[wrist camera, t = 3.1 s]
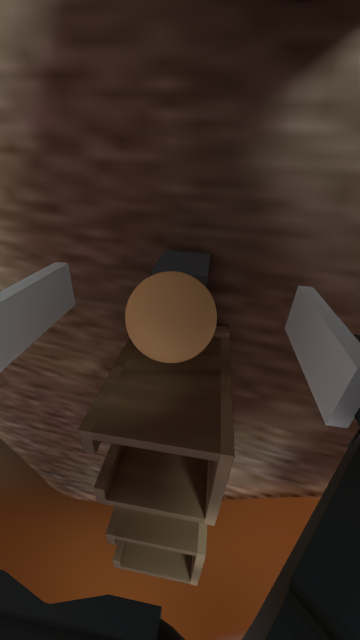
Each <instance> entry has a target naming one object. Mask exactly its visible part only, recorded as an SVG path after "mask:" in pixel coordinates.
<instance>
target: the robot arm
mask: <svg viewBox="0 0 360 640" xmlns="http://www.w3.org/2000/svg"><path fill="white" fill-rule="evenodd" d="M75 305H76V303H75V298H74V293H73V287H72V282H71V277H70V271H69V266H68V263H62V262H55V263H53V264H51V265H49V266H47V267H45V268H43V269H41V270H39V271H37V272H36V273H34V274H32V275H30V276H28V277H26V278H24V279H22V280H20V281H18V282H17V283H15V284H13V285H11V286H9V287H7V288H5V289H3V290H1V291H0V372H1V371H2V370H4V369H5V368H6V367H7V366H8V365H9V364H10V363H11V362H12V361H14V360H15V359H16V358H17V357H18V356H19V355H20V354H21V353H23V352H24V351H25V350H26V349H27V348H28V347H29V346H30V345H31V344H33V343H34V342H35V341H36V340H37V339H38V338H39V337H40V336H41V335H43V334H44V333H45V332H46V331H47V330H48V329H49V328H50V327H51V326H53V325H54V324H55V323H56V322H57V321H58V320H59V319H60V318H62V317H63V316H64V315H65V314H66V313H67V312H68V311H69V310H70V309H72V308H73V307H74V306H75ZM285 331H286V333H287V335H288V338H289V340H290V343H291V345H292V347H293V350H294V352H295V354H296V357H297V359H298V361H299V364H300V366H301V368H302V371H303V373H304V375H305V378H306V380H307V383H308V385H309V387H310V390H311V392H312V394H313V397H314V399H315V401H316V404H317V406H318V408H319V411H320V413H321V416H322V418H323V420H324V423H325V425H328V426H335V427H341V428H348V427H349V426H350V424H351V422H352V421H353V419H354V418H356V420H357V422H358V424H359V425H360V335H357V334H352V333H351V332H350V330H349V329H348V328H347V327H346V326H345V324H344V323H343V322H342V321H341V320H340V318H339V317H338V316H337V315H336V314H335V312H334V311H333V310H332V309H331V308H330V307H329V305H328V304H327V303H326V302H325V301H324V299H323V298H322V297H321V296H320V295H319V293H318V292H317V291H316V290H315V289H314V287H308V286H298V288H297V291H296V294H295V297H294V301H293V304H292V307H291V310H290V313H289V316H288V319H287V322H286V325H285ZM348 447H349V448H348V449H347V451H346V453H345V455H344V457H343V459H342V460H341V462H340V464H339V466H338V468H337V470H336V471H335V473H334V475H333V477H332V479H331V481H330V482H329V484H328V486H327V488H326V490H325V492H324V493H323V495H322V497H321V499H320V501H319V503H318V505H317V506H316V508H315V510H314V512H313V513H312V515H311V517H310V519H309V521H308V523H307V524H306V526H305V528H304V530H303V532H302V534H301V535H300V537H299V539H298V541H297V543H296V545H295V546H294V548H293V550H292V552H291V554H290V556H289V557H288V559H287V561H286V563H285V565H284V567H283V569H282V570H281V572H280V574H279V576H278V578H277V579H276V581H275V583H274V585H273V587H272V588H271V591H270V592H269V594H268V596H267V598H266V600H265V601H264V603H263V605H262V607H261V609H260V611H259V612H258V614H257V616H256V618H255V619H254V621H253V623H252V624H251V626H250V627H249V629H248V631H247V632H246V634H245V635H244V637H243V639H242V640H360V429H359V430H358V432H357V433H356V435H355V436H354V437H353V439H352V440H351V442H350V443H349V445H348ZM161 609H162V607H161V606H156V605H152V604H148V603H143V602H139V601H135V600H130V599H125V598H121V597H116V596H112V595H103V596H97V597H91V598H85V599H79V600H73V601H67V602H60V603H54V604H48V603H45V602H43V601H42V600H40V599H39V598H38V597H36V596H35V595H34V594H33V593H31V592H30V591H29V590H28V589H27V588H25V587H24V586H23V585H22V584H20V583H19V582H18V581H17V580H15V579H14V578H13V577H12V576H10V575H9V574H8V573H7V572H5V571H2V570H0V640H185V639H184V638H183V637H182V636H181V635H180V634H179V633H178V632H177V631H176V630H175V629H174V628H173V627H172V626H170V625H169V624H168V623H166V622H165V621H164V620H162V619H161Z"/></svg>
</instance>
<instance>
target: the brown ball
mask: <svg viewBox="0 0 360 640" xmlns="http://www.w3.org/2000/svg"><path fill="white" fill-rule="evenodd" d="M125 323H126V328H127V332H128V335H129V337H130V339H131V340H132V342H133V344H134V345H135V346H136V348H137V349H138V350H139V351H140V352H142V353H143V354H144V355H146V356H147V357H149V358H151V359H153V360H156V361H159V362H164V363H179V362H183V361H186V360H189V359H191V358H193V357H195V356H196V355H198V354H199V353H200V352H202V351H203V350H204V349H205V347H206V346H207V345H208V344H209V342H210V341H211V339H212V337H213V334H214V332H215V329H216V324H217V311H216V306H215V303H214V300H213V298H212V296H211V294H210V292H209V291H208V289H207V288H206V287H205V286H204V285H203V284H202V283H201V282H200V281H198V280H197V279H196V278H194V277H192V276H190V275H188V274H185V273H182V272H175V271H168V272H161V273H157V274H154V275H152V276H150V277H148V278H146V279H145V280H143V281H142V282H141V283H140V284H139V285H138V286H137V287H136V288H135V289H134V291H133V292H132V294H131V296H130V298H129V300H128V303H127V306H126V311H125Z"/></svg>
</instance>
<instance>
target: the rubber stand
mask: <svg viewBox="0 0 360 640" xmlns="http://www.w3.org/2000/svg"><path fill="white" fill-rule="evenodd" d="M209 263H210V254H206V253H195V252H184V251H173V250H166V251H165V252H164V254H163V255H162V256H161V258H160V259H159V261H158V262H157V263H156V265H155V266H154V267H153V269H152V270H151V276H152V275H154V274H157V273H161V272H168V271H175V272H182V273H185V274H188V275H190V276H192V277H194V278H196V279H197V280H198V281H200V282H201V283H202V284H203V285H204V286H205V287H206V288H207V280H208V272H209Z"/></svg>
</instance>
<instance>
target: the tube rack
mask: <svg viewBox="0 0 360 640" xmlns="http://www.w3.org/2000/svg"><path fill="white" fill-rule="evenodd" d="M229 336H230V327H226V326H217V325H216V329H215V332H214V334H213V337H212V339H211V341H210V342H209V344H208V345H207V346H206V347H205V349H204V350H203V351H202V352H200V353H199V354H198V355H196V356H195V357H193V358H191V359H189V360H186V361H183V362H179V363H164V362H159V361H156V360H153V359H151V358H149V357H147V356H146V355H144V354H143V353H142V352H140V351H139V350H138V349H137V348H136V346H135V345H134V344H133V342H132V340H131V339H130V338H129V340H128V342H127V343H126V345H125V347H124V349H123V351H122V352H121V354H120V356H119V358H118V359H117V361H116V363H115V365H114V367H113V368H112V370H111V372H110V374H109V375H108V377H107V379H106V381H105V383H104V384H103V386H102V388H101V390H100V392H99V393H98V395H97V397H96V399H95V400H94V402H93V404H92V406H91V408H90V409H89V411H88V413H87V415H86V416H85V418H84V420H83V422H82V424H81V425H80V427H79V429H78V432H79V436H80V440H81V443H82V447H83V451H84V452H85V453H91V454H96V452H97V449H98V447H99V445H100V443H101V441H102V442H107V443H112V444H111V446H110V449H109V451H108V454H107V456H106V459H105V461H104V463H103V466H102V468H101V471H100V473H99V476H98V478H97V481H96V483H95V485H94V492H95V496H96V499H97V503H102V504H107V505H112V506H115V507H114V510H113V513H112V516H111V519H110V522H109V525H108V529H107V532H106V537H107V540H108V543H109V544H113V545H116V543H117V540H118V544H117V547H116V550H115V554H114V557H113V563H114V567H116V568H120V569H125V570H129V571H134V572H138V573H143V574H147V575H152V576H156V577H161V578H165V579H169V580H174V581H179V582H183V583H187V584H192V585H197V584H198V580H199V577H200V574H201V570H202V567H203V563H204V559H205V556H206V539H207V538H206V537H207V524H208V525H213V526H214V525H215V522H216V519H217V515H218V511H219V508H220V505H221V502H222V498H223V495H224V491H225V488H226V484H227V481H228V478H229V474H230V471H231V467H232V464H233V460H234V457H235V454H234V432H233V411H232V390H231V368H230V347H229Z"/></svg>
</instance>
